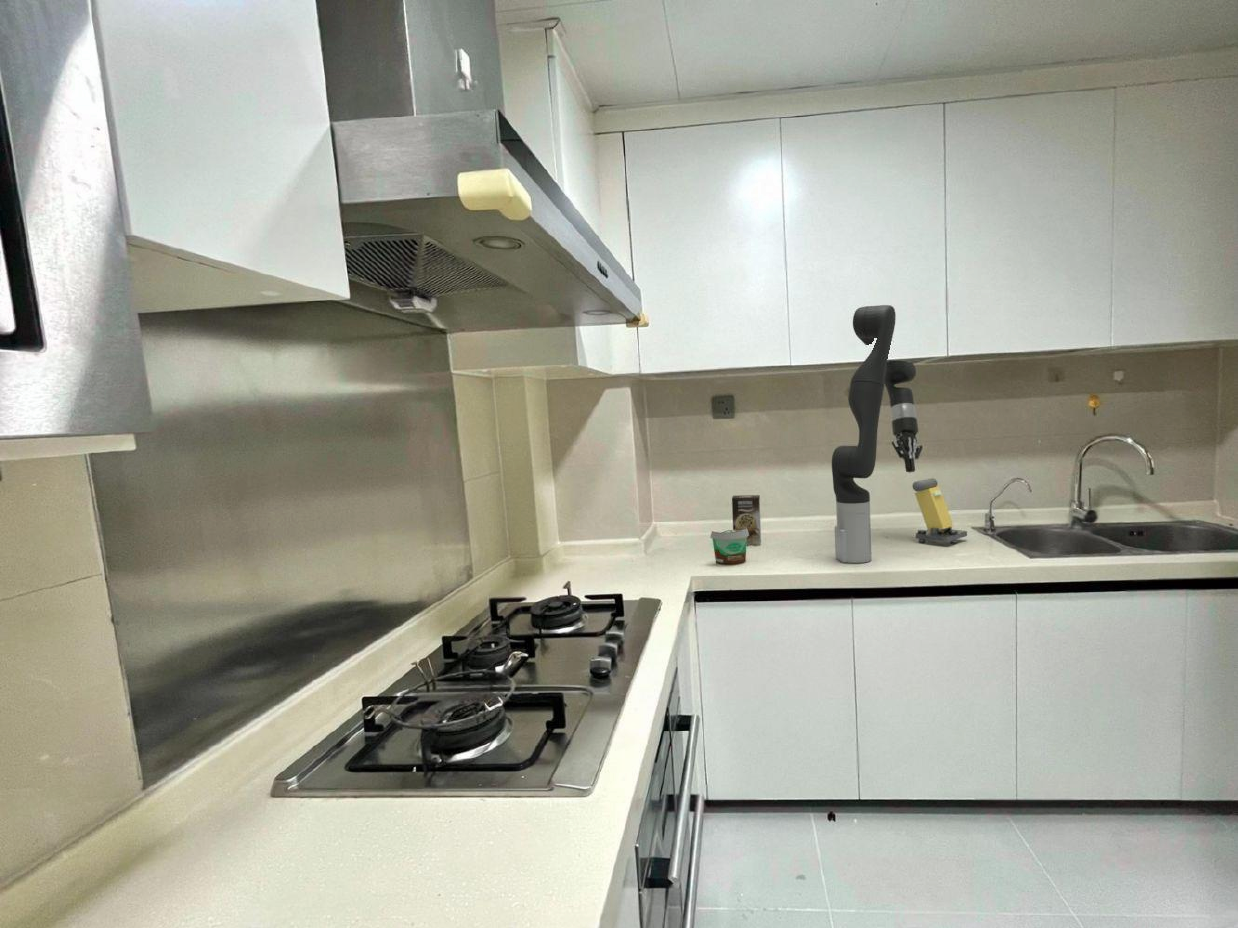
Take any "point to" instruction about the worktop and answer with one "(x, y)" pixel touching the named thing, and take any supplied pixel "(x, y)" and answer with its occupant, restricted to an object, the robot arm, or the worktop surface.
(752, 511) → the coffee box
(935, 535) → the tribrach
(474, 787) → the worktop surface
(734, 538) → the food container
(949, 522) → the grey-capped yellow box
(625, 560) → the worktop surface
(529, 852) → the worktop surface
